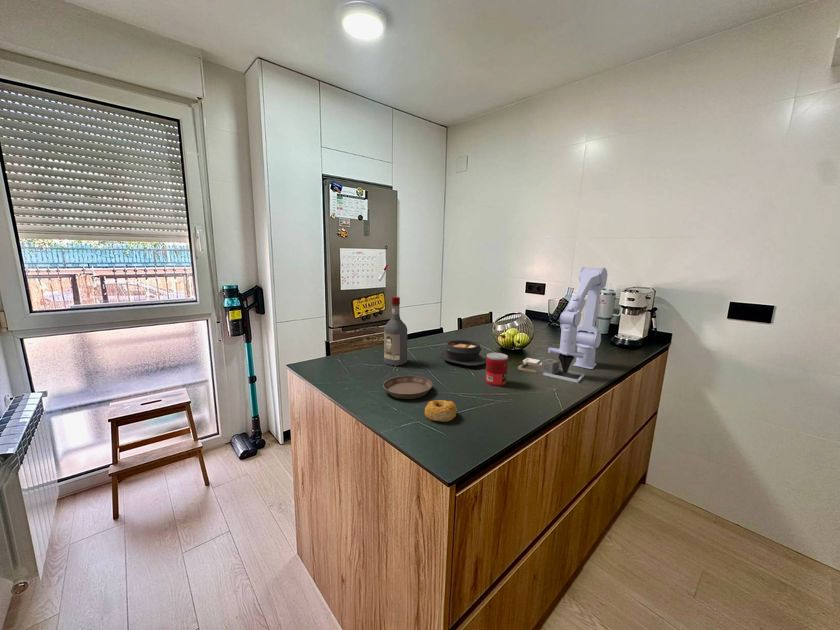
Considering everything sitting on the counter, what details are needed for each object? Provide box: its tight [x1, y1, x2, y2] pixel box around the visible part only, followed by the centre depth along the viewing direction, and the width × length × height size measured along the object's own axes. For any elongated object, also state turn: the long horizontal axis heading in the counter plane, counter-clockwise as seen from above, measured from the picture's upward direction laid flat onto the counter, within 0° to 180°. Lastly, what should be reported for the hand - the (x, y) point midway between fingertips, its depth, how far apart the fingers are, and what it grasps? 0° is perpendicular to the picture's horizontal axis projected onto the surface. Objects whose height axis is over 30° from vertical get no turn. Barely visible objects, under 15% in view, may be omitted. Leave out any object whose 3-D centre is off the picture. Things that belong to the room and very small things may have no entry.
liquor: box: [383, 296, 408, 367], centre depth 148 cm, size 9×9×30 cm
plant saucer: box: [382, 375, 433, 400], centre depth 119 cm, size 18×18×3 cm
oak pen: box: [517, 362, 542, 374], centre depth 145 cm, size 10×8×1 cm
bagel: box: [424, 399, 458, 423], centre depth 101 cm, size 10×11×5 cm
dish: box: [522, 357, 541, 364], centre depth 154 cm, size 6×6×1 cm
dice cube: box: [540, 358, 561, 375], centre depth 141 cm, size 5×5×5 cm
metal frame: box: [542, 367, 585, 383], centre depth 137 cm, size 10×14×1 cm
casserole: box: [439, 339, 486, 367], centre depth 154 cm, size 25×19×8 cm
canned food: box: [485, 352, 509, 387], centre depth 127 cm, size 8×8×11 cm
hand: (565, 372), depth 136 cm, fingers closed
